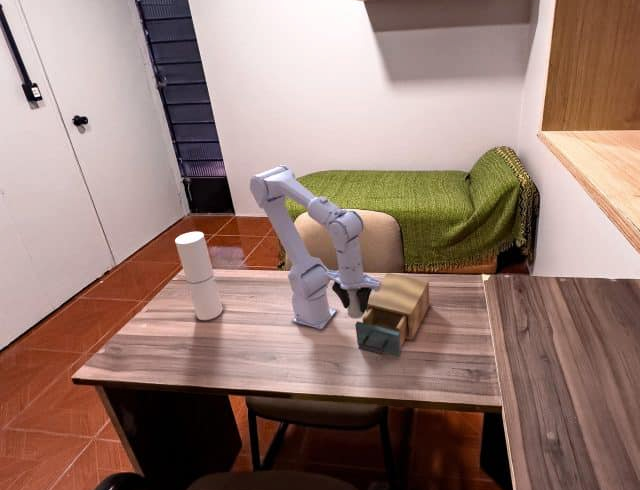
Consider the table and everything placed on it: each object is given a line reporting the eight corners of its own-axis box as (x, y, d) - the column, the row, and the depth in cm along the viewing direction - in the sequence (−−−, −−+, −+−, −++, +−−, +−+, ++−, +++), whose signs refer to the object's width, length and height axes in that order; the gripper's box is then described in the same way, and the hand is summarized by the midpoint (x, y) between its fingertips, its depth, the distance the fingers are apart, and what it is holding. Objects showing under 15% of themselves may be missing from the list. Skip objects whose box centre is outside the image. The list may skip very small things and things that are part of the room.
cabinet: (412, 340, 100) (410, 313, 97) (368, 328, 105) (365, 303, 101) (429, 305, 112) (428, 280, 108) (389, 296, 117) (387, 272, 113)
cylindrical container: (191, 318, 113) (168, 242, 104) (207, 303, 120) (187, 230, 110) (212, 321, 112) (191, 244, 102) (227, 306, 118) (209, 232, 108)
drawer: (392, 370, 91) (391, 348, 88) (349, 357, 95) (346, 335, 92) (417, 321, 105) (417, 300, 102) (379, 311, 110) (377, 292, 107)
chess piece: (362, 320, 95) (359, 293, 92) (345, 318, 96) (341, 292, 93) (367, 308, 99) (364, 282, 96) (350, 307, 100) (347, 281, 97)
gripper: (314, 265, 91) (322, 311, 97) (370, 276, 85) (375, 325, 91) (330, 250, 97) (336, 294, 103) (383, 260, 91) (387, 306, 97)
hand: (355, 307), depth 97 cm, fingers closed on chess piece, 4 cm apart
